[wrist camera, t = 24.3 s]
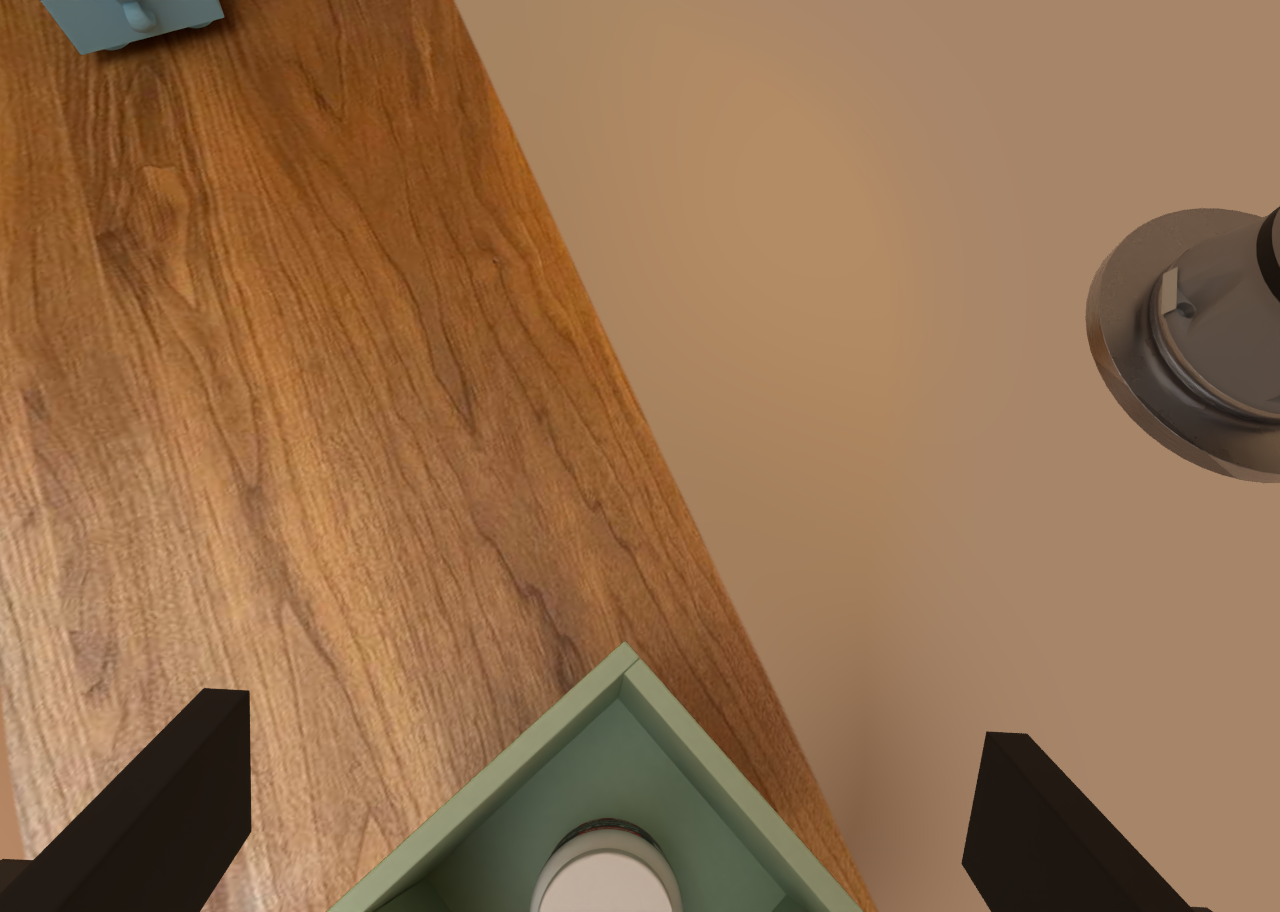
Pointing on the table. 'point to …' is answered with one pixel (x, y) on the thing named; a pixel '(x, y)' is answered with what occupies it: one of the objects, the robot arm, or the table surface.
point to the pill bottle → (607, 872)
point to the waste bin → (604, 812)
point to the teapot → (127, 20)
